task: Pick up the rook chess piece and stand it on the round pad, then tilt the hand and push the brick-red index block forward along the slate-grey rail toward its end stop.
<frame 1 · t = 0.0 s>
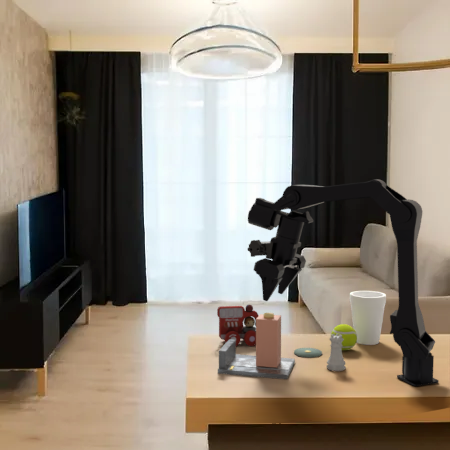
hand: (272, 296, 150), 15 cm above the table, tool pointing down, fingers open, 9 cm apart
foam cup: (366, 342, 166), on the table
round pad: (307, 353, 156), on the table
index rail: (257, 367, 145), on the table
tennis ball: (343, 350, 159), on the table
rook chess piece: (336, 369, 144), on the table
index block: (268, 338, 143), point 7 cm above the table, slide at 0.0 cm
toy fire truck: (240, 344, 165), on the table
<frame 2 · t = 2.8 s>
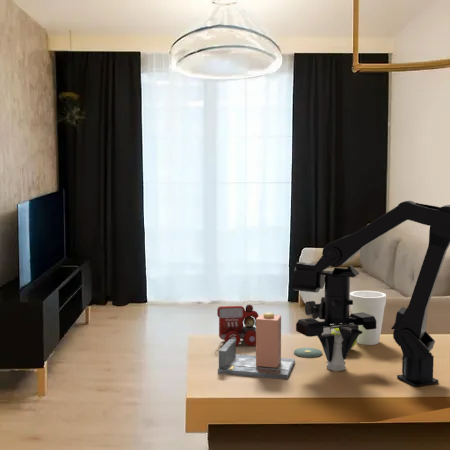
hand: (336, 360, 144), 2 cm above the table, tool pointing down, fingers closed on rook chess piece, 3 cm apart
rook chess piece: (336, 369, 144), on the table, touching gripper
everything else where it was.
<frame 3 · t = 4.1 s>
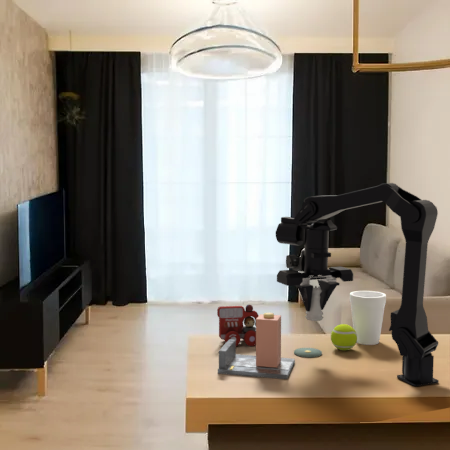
hand: (314, 310, 151), 12 cm above the table, tool pointing down, fingers closed on rook chess piece, 3 cm apart
rook chess piece: (314, 319, 152), point 10 cm above the table, touching gripper
everything else where it was.
when the fingers open (4 cm above the table, at t = 5.9 s): rook chess piece drops 1 cm, resting on round pad.
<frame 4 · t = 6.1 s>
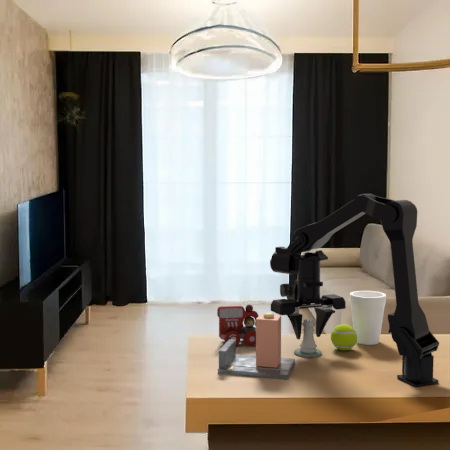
hand: (308, 337, 156), 4 cm above the table, tool pointing down, fingers open, 5 cm apart
rook chess piece: (308, 352, 156), resting on round pad
everything else where it was.
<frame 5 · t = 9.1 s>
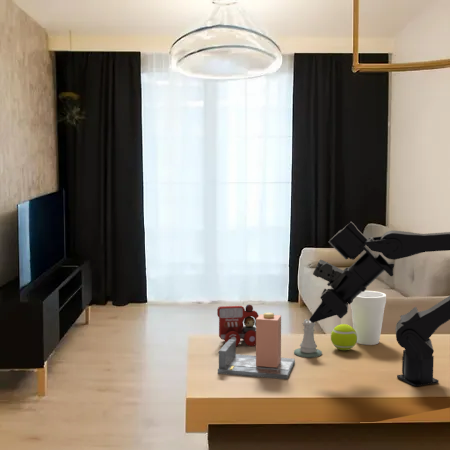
hand: (310, 320, 140), 12 cm above the table, tool tilted 45°, fingers closed
nothing on the table moved.
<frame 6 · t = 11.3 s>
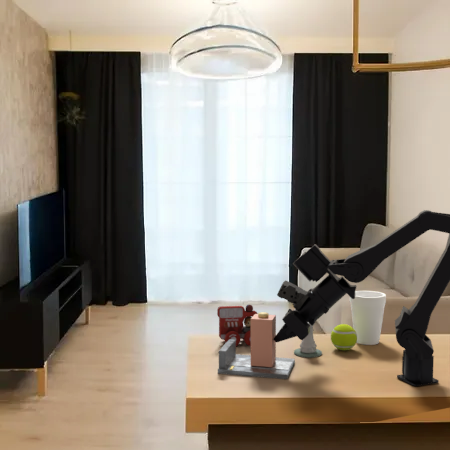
hand: (275, 340, 143), 7 cm above the table, tool tilted 45°, fingers closed, pressing on index block
index block: (263, 338, 144), point 7 cm above the table, slide at 1.3 cm, touching gripper
everything else where it was.
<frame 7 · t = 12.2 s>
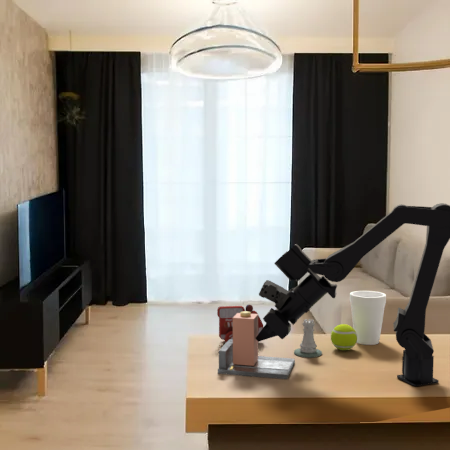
hand: (257, 339, 144), 7 cm above the table, tool tilted 45°, fingers closed, pressing on index block
index block: (245, 337, 145), point 7 cm above the table, slide at 5.5 cm, touching gripper
everything else where it was.
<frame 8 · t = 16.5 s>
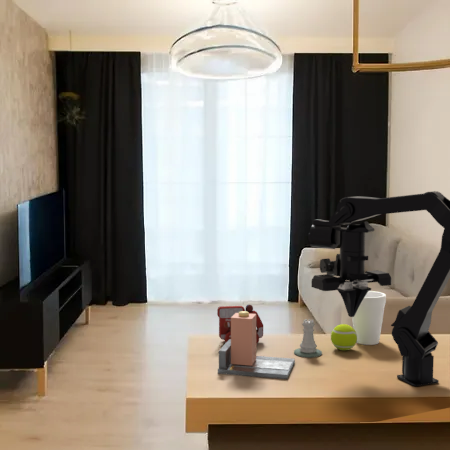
hand: (351, 316, 144), 12 cm above the table, tool pointing down, fingers closed
index block: (243, 337, 145), point 7 cm above the table, slide at 5.9 cm
everything else where it was.
at the end: index block slide at 5.9 cm; rook chess piece 0.1 cm from the round pad (horizontally); rook chess piece tilted 0° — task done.
